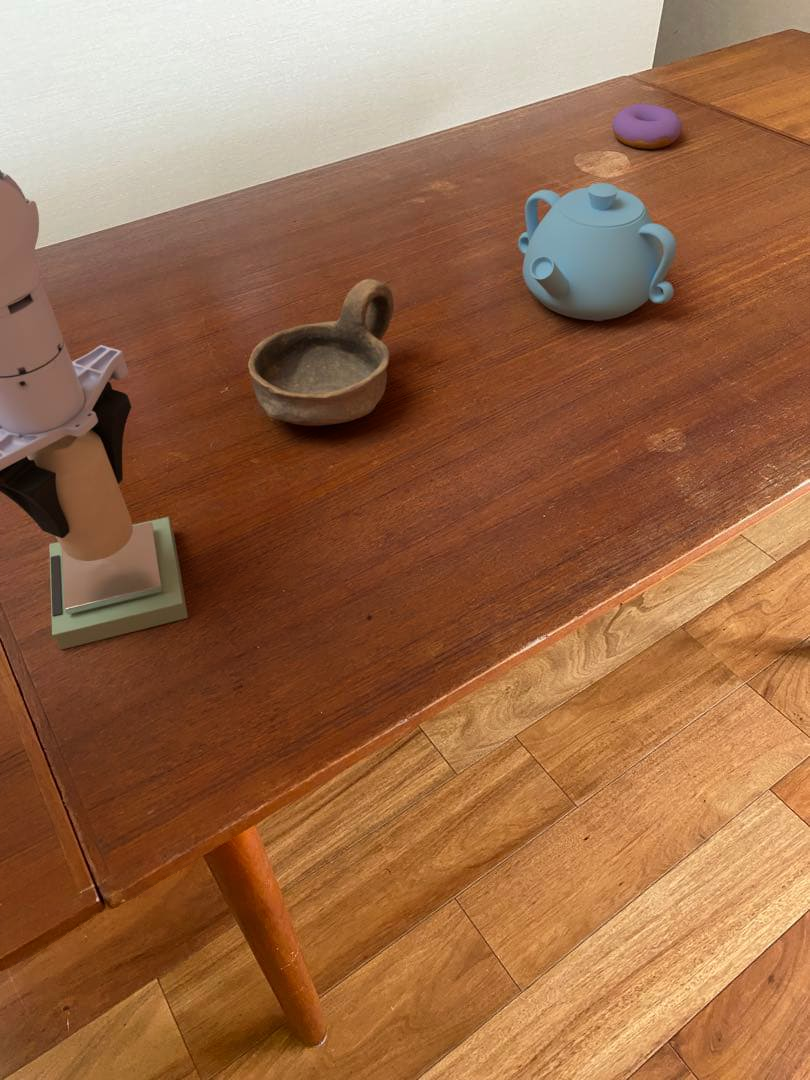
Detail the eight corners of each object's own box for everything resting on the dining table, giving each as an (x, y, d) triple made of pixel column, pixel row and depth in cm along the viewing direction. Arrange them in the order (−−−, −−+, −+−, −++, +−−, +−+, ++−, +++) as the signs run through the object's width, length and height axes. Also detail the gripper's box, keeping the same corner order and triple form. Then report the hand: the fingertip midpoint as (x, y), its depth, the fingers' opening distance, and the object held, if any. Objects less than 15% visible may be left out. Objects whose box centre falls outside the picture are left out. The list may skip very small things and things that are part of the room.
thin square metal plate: (67, 615, 67) (64, 609, 66) (63, 547, 72) (61, 542, 71) (163, 591, 68) (161, 586, 68) (153, 527, 73) (151, 521, 72)
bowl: (226, 413, 87) (206, 328, 79) (345, 334, 96) (337, 251, 88) (324, 471, 81) (312, 384, 73) (442, 381, 89) (442, 295, 82)
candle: (48, 533, 67) (0, 433, 60) (113, 500, 69) (74, 400, 62) (80, 573, 64) (33, 474, 57) (146, 537, 66) (110, 437, 59)
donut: (597, 139, 127) (605, 103, 124) (626, 132, 133) (635, 97, 130) (658, 156, 122) (668, 119, 119) (686, 148, 128) (696, 113, 125)
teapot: (698, 293, 99) (725, 185, 90) (608, 378, 89) (628, 266, 79) (552, 242, 108) (562, 139, 98) (455, 314, 98) (456, 207, 88)
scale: (60, 650, 67) (50, 633, 66) (56, 559, 74) (48, 542, 72) (188, 618, 69) (182, 601, 68) (173, 532, 76) (167, 514, 74)
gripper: (-21, 436, 48) (58, 590, 58) (140, 305, 57) (185, 459, 67) (-110, 404, 51) (-20, 558, 61) (58, 283, 59) (113, 435, 69)
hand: (83, 504), depth 64 cm, fingers closed on candle, 5 cm apart
